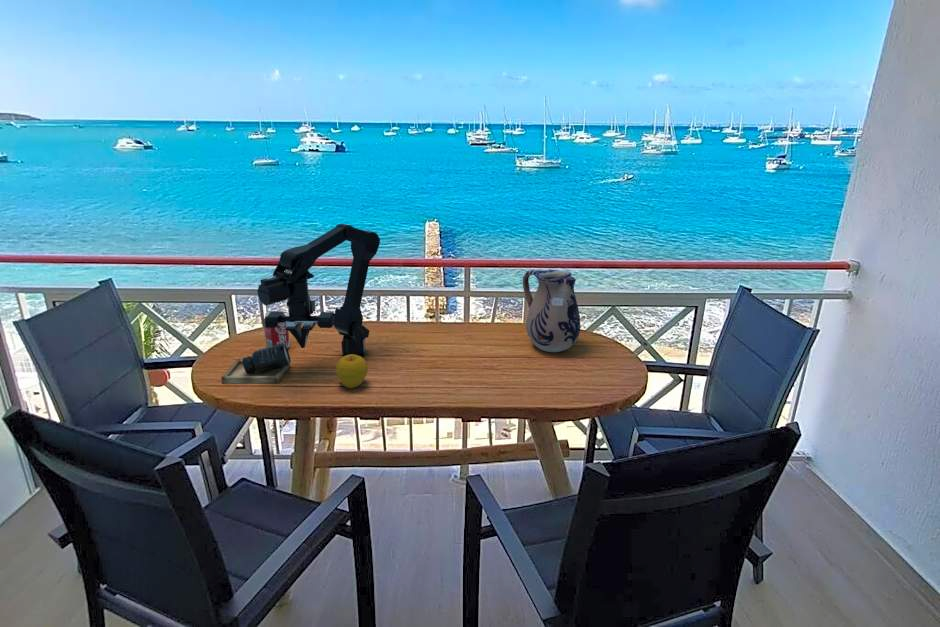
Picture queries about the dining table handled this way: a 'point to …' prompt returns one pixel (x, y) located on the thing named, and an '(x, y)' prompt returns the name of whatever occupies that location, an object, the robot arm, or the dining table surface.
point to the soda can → (276, 334)
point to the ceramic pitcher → (552, 310)
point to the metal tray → (251, 375)
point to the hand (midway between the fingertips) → (303, 347)
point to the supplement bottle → (267, 359)
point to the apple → (351, 370)
